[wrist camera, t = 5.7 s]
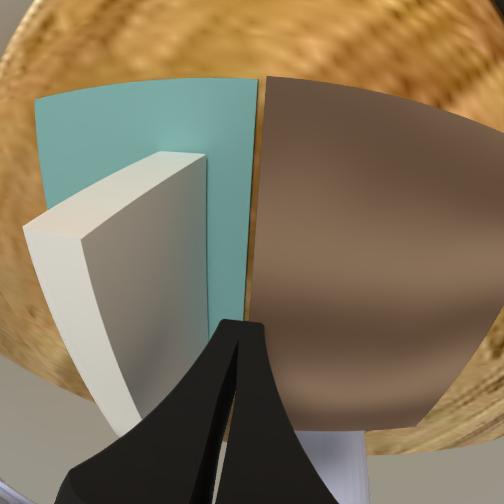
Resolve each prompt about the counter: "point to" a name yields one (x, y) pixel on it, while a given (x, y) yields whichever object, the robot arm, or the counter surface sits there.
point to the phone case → (500, 5)
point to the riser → (373, 252)
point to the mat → (163, 139)
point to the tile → (129, 280)
